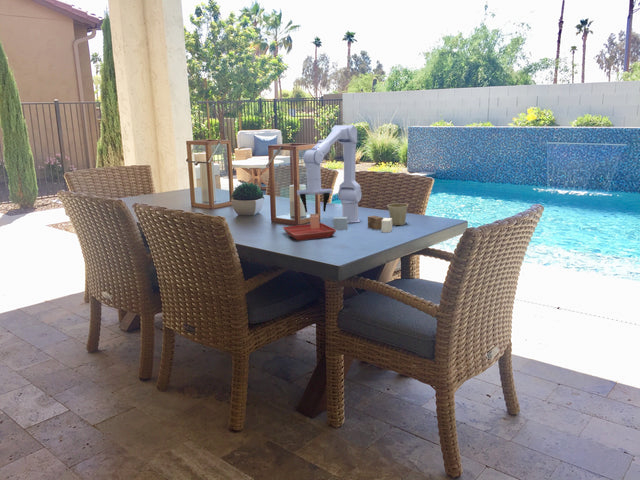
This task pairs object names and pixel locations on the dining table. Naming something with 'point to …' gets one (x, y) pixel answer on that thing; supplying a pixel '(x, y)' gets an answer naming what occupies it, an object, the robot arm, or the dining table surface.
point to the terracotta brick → (314, 221)
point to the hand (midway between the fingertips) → (315, 211)
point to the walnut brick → (375, 222)
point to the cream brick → (387, 225)
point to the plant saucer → (309, 231)
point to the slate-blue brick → (340, 223)
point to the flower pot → (398, 213)
